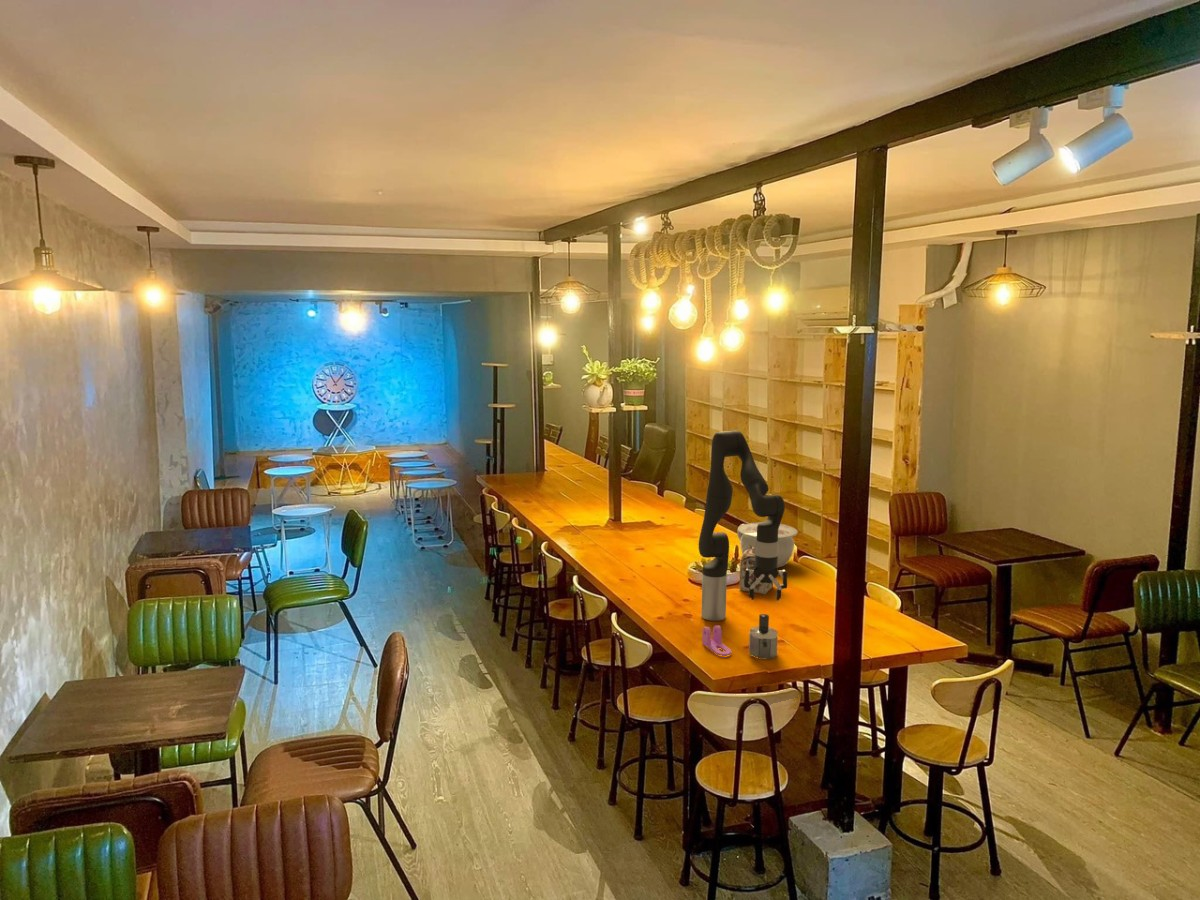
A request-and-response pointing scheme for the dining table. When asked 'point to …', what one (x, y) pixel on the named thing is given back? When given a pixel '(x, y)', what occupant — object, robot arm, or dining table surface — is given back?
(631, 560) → the dining table surface
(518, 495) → the dining table surface
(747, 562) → the decorative jar
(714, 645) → the bracket
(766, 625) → the lid
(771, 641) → the pot
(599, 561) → the dining table surface
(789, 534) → the chamber pot
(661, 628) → the dining table surface
